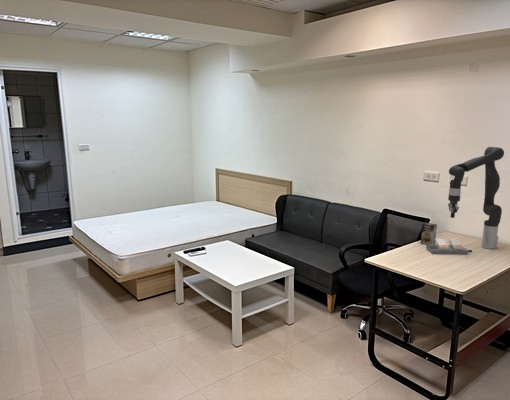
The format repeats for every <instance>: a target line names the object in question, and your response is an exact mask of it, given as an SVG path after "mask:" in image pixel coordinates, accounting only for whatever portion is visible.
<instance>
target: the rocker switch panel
mask: <svg viewBox="0 0 510 400" xmlns="http://www.w3.org/2000/svg"><path fill="white" fill-rule="evenodd" d="M447 245H448V244H447ZM448 247H449V249H448V250H440V249H439V247H438V246H437V244H435V245H426V247H425V248H426V249H425V250H427V251H428V252H429V253H430V252H431V254H432V255H463V256H465V255H466V256H467V255H469V253H472V252H473V250H472V249H468V248H466V247H465V246H463V249H454V248H453V247H452V246H451V244H449V245H448Z"/></svg>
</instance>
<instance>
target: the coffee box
mask: <svg viewBox="0 0 510 400" xmlns="http://www.w3.org/2000/svg"><path fill="white" fill-rule="evenodd" d="M437 229H438V224H437V223H430V222H423V223H422V225H421V235H420V244H421V245H426V246H427V245H434V244H435V245H436V242H435V239H437Z"/></svg>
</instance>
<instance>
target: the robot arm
mask: <svg viewBox="0 0 510 400" xmlns="http://www.w3.org/2000/svg"><path fill="white" fill-rule="evenodd" d="M483 154H484V155H482V156H478V157H474V158H471V159H468V160H467V161H464V162H462V163H458V164H454V165H452V166H451V167H450V168H449V170H448V174H449V175H450V176H452V177H454V178H453V179H451V180H450V182H449V189H448V197H447V199H448V202H449V203H447V206H448V211H449V213H450V218H451V219H454V218H455V215H456V214H455V213H457V212H458V210H459V208H460V207H459V205H458V204H459V203H458V202H460V201H461V194H462V193H461V191H462V190H461V186H462V182H463V179H464V176H465V173H466V172H467V173H468V172H471V171H472V170H474V169H476V168H479V167H481V166H484V168H485V169H484V170H485V173H484V175H485V177H484V199H483V200H484V201H483V208H482V211H483V214H484V215H486V216H488V219H486V220H484V221H483V231H482V239H481V247H482V248H484V249H488V250H495V249H497V248H498V242H499V235H498V233H499V232H498V231H499V224H500V223H501V219H502V213H503V209H502V207H501V205H498V204H495V197H496V194H497V193H498V190H499V189H500V185H501V178H500V174H499V172H498V170H497V168H496V162H497V161H500V160H501V159H502V158H503V157H504V156H505V155H504V154H505V150H504V149H503V148H502V147H497V146H488V147H486V148H485V151H484V153H483Z"/></svg>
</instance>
